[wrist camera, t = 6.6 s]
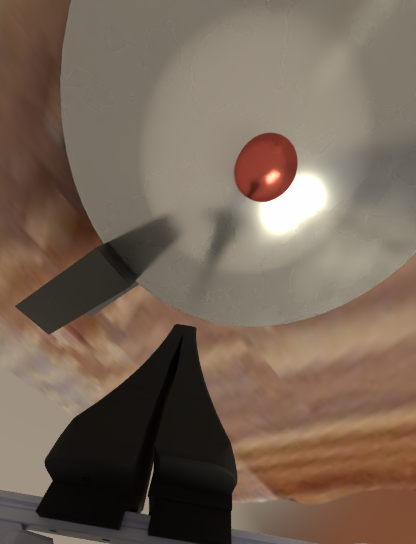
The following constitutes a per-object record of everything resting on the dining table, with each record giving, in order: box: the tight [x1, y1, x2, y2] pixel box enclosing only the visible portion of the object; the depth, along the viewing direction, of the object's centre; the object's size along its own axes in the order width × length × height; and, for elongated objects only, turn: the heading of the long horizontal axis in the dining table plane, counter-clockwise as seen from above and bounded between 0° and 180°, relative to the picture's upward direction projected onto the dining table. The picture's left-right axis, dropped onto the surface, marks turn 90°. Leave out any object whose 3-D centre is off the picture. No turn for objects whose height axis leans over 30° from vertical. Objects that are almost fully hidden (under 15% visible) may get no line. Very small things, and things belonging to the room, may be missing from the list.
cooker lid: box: [15, 0, 416, 334], centre depth 10 cm, size 25×18×3 cm
